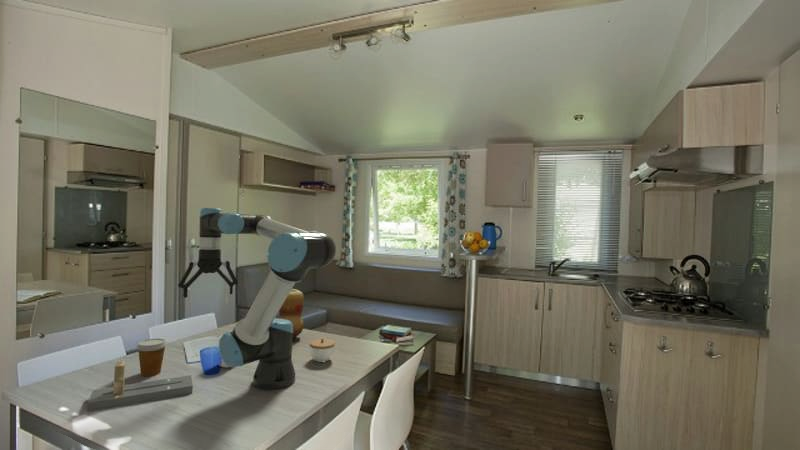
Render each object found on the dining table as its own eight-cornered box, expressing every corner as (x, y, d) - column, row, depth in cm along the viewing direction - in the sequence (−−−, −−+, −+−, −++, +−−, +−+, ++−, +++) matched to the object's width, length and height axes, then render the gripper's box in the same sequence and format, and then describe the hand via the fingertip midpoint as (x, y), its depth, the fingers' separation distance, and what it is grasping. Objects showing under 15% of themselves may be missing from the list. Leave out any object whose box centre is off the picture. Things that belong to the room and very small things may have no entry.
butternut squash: (288, 344, 184) (290, 293, 184) (269, 339, 191) (271, 289, 191) (308, 337, 196) (310, 289, 196) (290, 333, 202) (292, 286, 202)
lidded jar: (315, 366, 158) (316, 344, 158) (304, 358, 166) (305, 337, 166) (338, 361, 164) (339, 340, 164) (326, 354, 173) (327, 333, 173)
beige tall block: (124, 388, 125) (125, 360, 125) (122, 393, 121) (124, 365, 121) (115, 389, 124) (116, 362, 124) (113, 394, 120) (114, 366, 120)
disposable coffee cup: (150, 379, 138) (152, 347, 138) (129, 376, 140) (130, 344, 140) (171, 370, 147) (172, 339, 147) (150, 367, 149) (152, 336, 149)
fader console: (190, 381, 138) (191, 374, 138) (192, 393, 129) (192, 385, 129) (92, 397, 123) (93, 389, 123) (87, 411, 114) (87, 402, 114)
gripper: (242, 247, 154) (240, 299, 153) (171, 248, 139) (169, 305, 139) (246, 248, 147) (245, 303, 147) (172, 249, 133) (170, 309, 133)
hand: (208, 304), depth 143 cm, fingers open, 13 cm apart
